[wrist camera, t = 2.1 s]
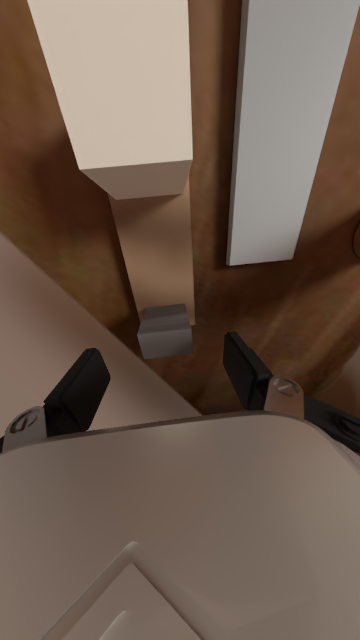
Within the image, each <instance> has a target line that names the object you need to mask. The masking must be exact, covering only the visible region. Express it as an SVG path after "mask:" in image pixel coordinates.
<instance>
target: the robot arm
mask: <svg viewBox="0 0 360 640" xmlns="http://www.w3.org/2000/svg"><path fill="white" fill-rule="evenodd" d="M223 365H224V368H225V370H226V372H227V374H228V376H229V378H230V380H231V382H232V385H233V387H234V389H235V391H236V393H237V395H238V397H239V399H240V402H241V404H242V406H243V408H244V409H247V411H241V412H231V413H222V414H213V415H206V416H198V417H190V418H182V419H174V420H166V421H159V422H151V423H144V424H137V425H130V426H121V427H114V428H107V429H99V430H92V431H86V430H88V429H89V427H90V425H91V423H92V421H93V418H94V416H95V414H96V411H97V409H98V407H99V405H100V402H101V400H102V398H103V395H104V393H105V391H106V388H107V386H108V384H109V381H110V374H109V372H108V369H107V367H106V365H105V363H104V360H103V358H102V356H101V353H100V351H99V350H97V349H96V348H90V349H86V350H85V351H84V352H83V353H82V354H81V356H80V357H79V358H78V359H77V361H76V362H75V363H74V364H73V366H72V367H71V368H70V369H69V371H68V372H67V373H66V374H65V376H64V377H63V378H62V379H61V381H60V382H59V383H58V384H57V385H56V387H55V388H54V389H53V391H52V392H51V393H50V394H49V395H48V397H47V398H46V399H45V400H44V403H45V405H44V406H43V407H41V406H36V407H33V408H30V409H28V410H26V411H24V412H23V413H21V414H20V415H18V417H16V418H15V419H14V420H13V421H12V422H11V423H10V424H9V425H8V427H7V428H6V431H5V435H4V436H3V437H2V438H0V640H360V419H359V418H357V417H355V416H353V415H351V414H349V413H346V412H344V411H342V410H339V409H337V408H335V407H333V406H330V405H328V404H326V403H323V402H321V401H319V400H317V399H314V398H312V397H310V396H307V395H305V394H303V390H302V388H301V387H300V386H299V385H298V384H297V383H296V382H295V381H293V380H291V379H289V378H287V377H283V376H274V375H273V374H272V373H271V372H270V370H269V369H268V368H267V367H266V366H265V364H264V363H263V362H262V361H261V360H260V358H259V357H258V356H257V355H256V353H255V352H254V351H253V350H252V349H251V348H249V347H248V346H247V345H246V344H245V342H244V341H243V340H242V339H241V338H240V336H239V335H238V334H237V333H236V332H228V333H227V334H226V335H225V337H224V353H223Z"/></svg>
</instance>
